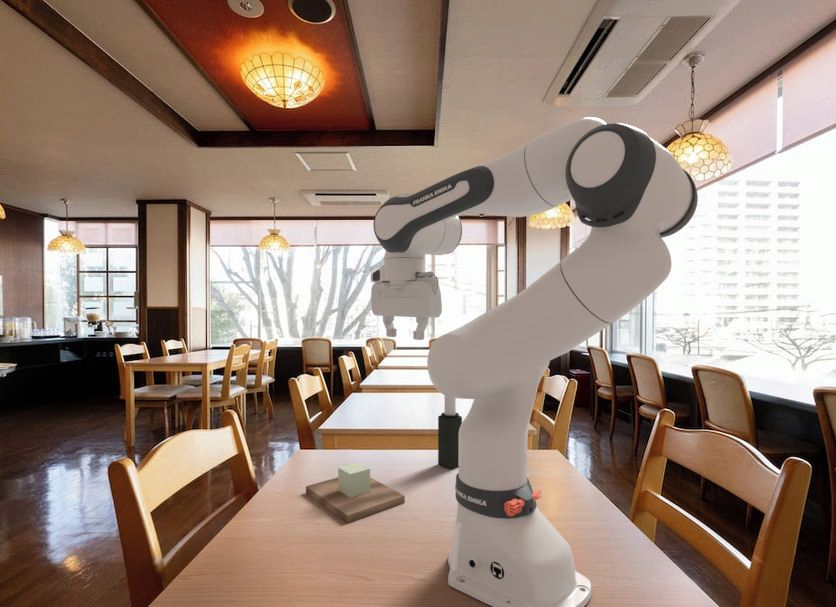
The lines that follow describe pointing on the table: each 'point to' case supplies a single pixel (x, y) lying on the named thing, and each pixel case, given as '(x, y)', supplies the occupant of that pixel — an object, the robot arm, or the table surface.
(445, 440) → the black and grey rod
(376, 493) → the serving board
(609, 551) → the table surface
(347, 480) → the cube
